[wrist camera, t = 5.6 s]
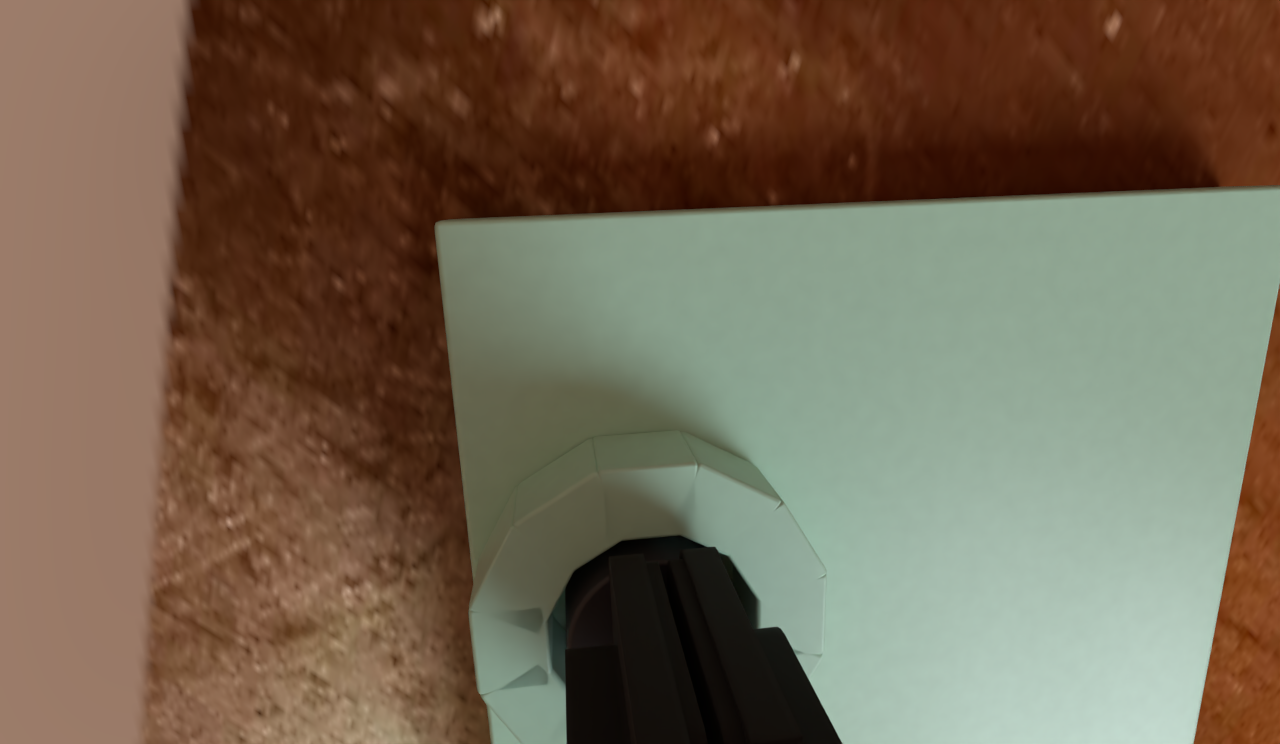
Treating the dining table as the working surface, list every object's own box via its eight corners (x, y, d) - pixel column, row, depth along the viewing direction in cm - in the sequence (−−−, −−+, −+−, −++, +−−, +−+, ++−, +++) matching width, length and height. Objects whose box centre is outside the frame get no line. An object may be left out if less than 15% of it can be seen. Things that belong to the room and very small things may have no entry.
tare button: (570, 666, 12) (572, 730, 11) (559, 524, 12) (560, 570, 10) (722, 649, 13) (744, 708, 11) (721, 509, 12) (744, 552, 10)
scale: (510, 826, 15) (499, 974, 12) (446, 219, 12) (411, 223, 9) (1136, 741, 17) (1258, 854, 14) (1226, 186, 13) (1410, 181, 11)
